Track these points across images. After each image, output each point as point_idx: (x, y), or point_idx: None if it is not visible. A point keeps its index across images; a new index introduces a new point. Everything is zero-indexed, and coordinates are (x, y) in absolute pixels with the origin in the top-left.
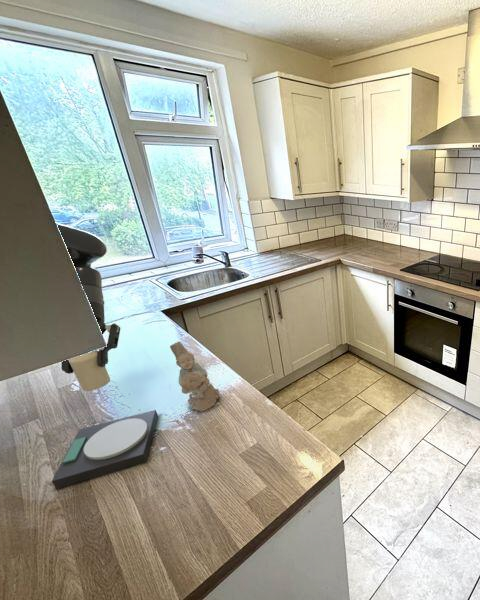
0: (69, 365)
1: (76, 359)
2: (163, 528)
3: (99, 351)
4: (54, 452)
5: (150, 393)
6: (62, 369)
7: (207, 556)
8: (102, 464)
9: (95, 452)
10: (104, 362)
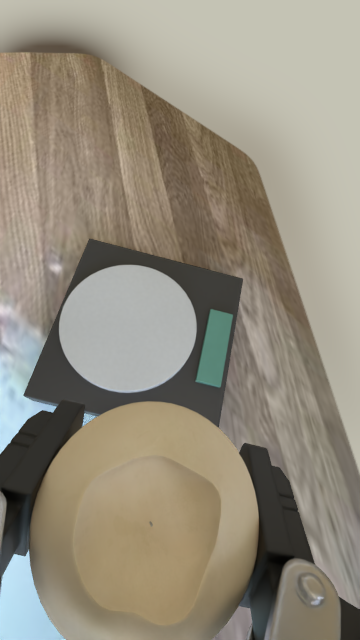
0: None
1: (193, 426)
2: (96, 121)
3: (16, 484)
4: (262, 417)
5: (14, 583)
6: (283, 476)
7: (63, 65)
8: (161, 262)
9: (172, 295)
10: (42, 411)
